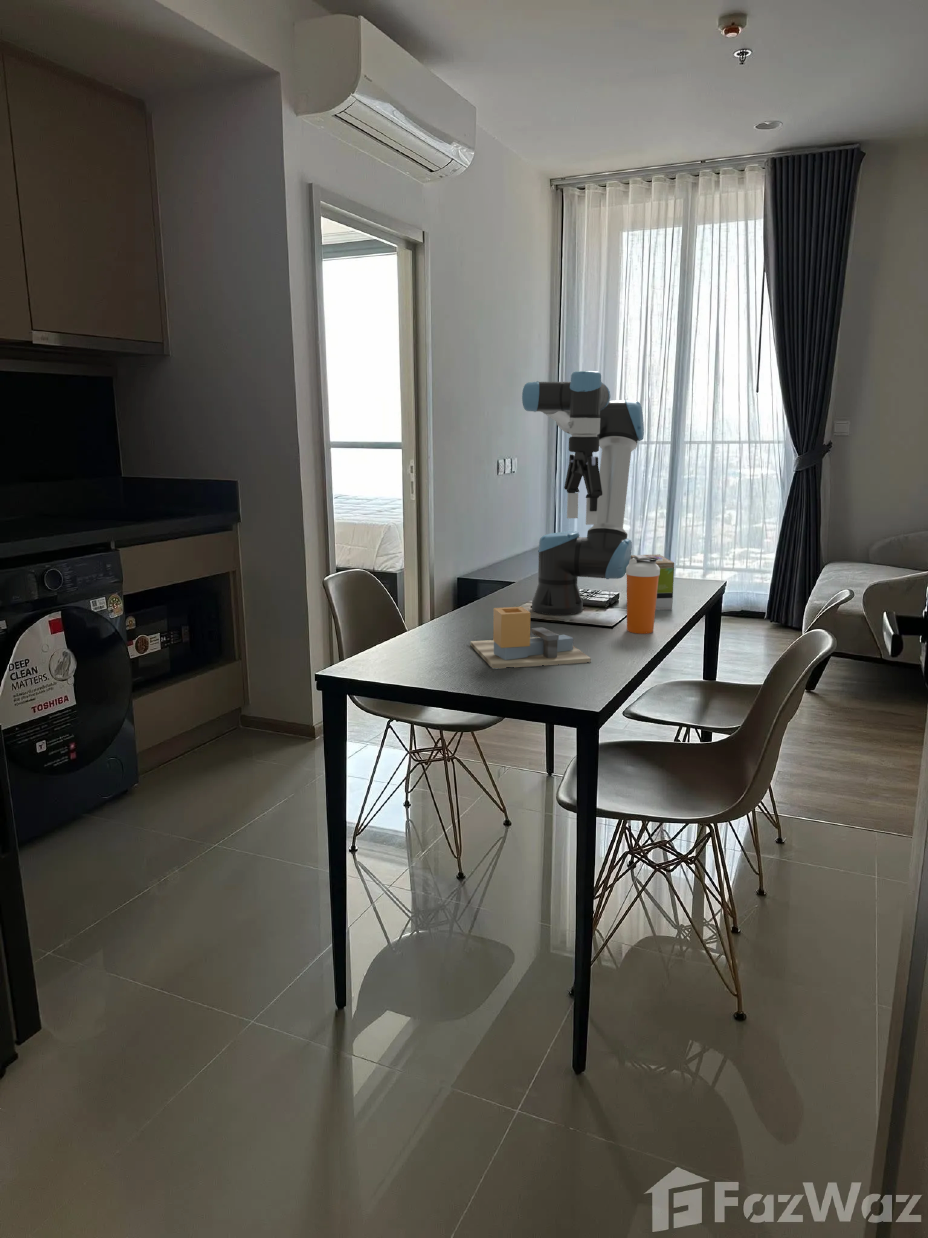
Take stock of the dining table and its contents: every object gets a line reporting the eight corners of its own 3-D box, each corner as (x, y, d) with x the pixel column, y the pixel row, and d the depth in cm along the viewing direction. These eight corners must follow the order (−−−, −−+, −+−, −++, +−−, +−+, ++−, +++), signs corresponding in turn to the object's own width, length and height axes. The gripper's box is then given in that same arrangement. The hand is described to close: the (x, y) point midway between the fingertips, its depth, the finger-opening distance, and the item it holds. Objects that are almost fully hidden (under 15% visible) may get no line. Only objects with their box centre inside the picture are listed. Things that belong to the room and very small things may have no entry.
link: (505, 660, 204) (505, 647, 204) (493, 653, 210) (493, 641, 209) (574, 651, 212) (575, 639, 212) (562, 645, 217) (562, 633, 217)
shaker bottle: (657, 635, 232) (660, 560, 227) (622, 633, 234) (626, 559, 229) (656, 627, 240) (660, 555, 236) (623, 626, 242) (626, 554, 238)
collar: (493, 640, 210) (493, 608, 208) (521, 638, 212) (521, 606, 210) (501, 647, 204) (501, 614, 202) (529, 646, 205) (530, 612, 203)
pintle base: (470, 645, 222) (470, 606, 220) (559, 639, 228) (560, 602, 225) (492, 668, 202) (493, 626, 199) (590, 662, 207) (592, 621, 205)
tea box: (627, 600, 276) (629, 554, 273) (658, 599, 277) (660, 553, 273) (640, 610, 261) (642, 561, 258) (673, 610, 262) (675, 561, 259)
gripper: (553, 434, 228) (551, 516, 233) (588, 436, 204) (585, 527, 209) (580, 434, 230) (578, 515, 235) (618, 436, 206) (614, 526, 211)
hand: (581, 521), depth 222 cm, fingers open, 13 cm apart
